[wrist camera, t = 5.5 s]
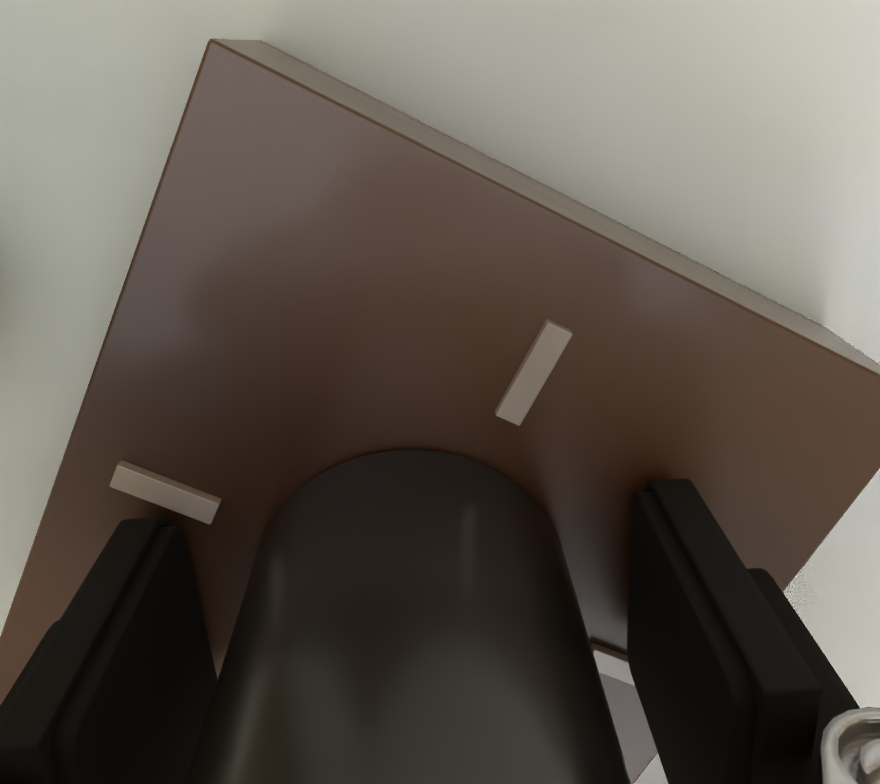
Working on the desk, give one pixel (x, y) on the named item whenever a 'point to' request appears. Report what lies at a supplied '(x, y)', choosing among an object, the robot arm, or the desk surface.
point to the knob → (409, 640)
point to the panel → (429, 360)
